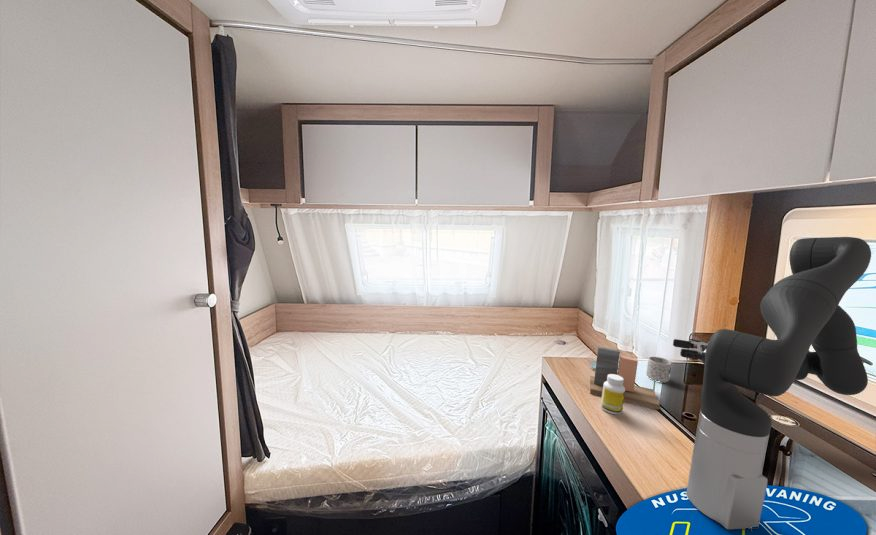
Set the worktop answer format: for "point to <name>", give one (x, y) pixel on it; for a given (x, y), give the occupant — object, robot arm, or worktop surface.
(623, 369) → the orange rectangular block
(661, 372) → the mug
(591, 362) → the pacifier
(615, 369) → the stand
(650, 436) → the worktop surface
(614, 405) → the supplement bottle
